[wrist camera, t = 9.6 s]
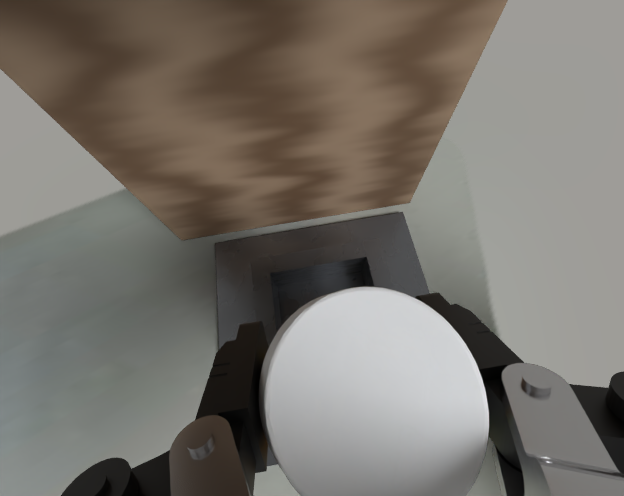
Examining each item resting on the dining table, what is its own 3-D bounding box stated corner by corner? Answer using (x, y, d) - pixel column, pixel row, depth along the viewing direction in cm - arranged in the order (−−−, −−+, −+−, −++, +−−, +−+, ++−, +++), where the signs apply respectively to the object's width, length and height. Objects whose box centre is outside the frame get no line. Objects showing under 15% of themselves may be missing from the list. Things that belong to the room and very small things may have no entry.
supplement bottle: (393, 467, 13) (550, 674, 4) (273, 432, 13) (172, 536, 5) (407, 339, 15) (532, 283, 6) (302, 315, 16) (272, 230, 7)
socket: (225, 472, 19) (202, 494, 15) (216, 245, 25) (198, 223, 22) (471, 426, 19) (504, 437, 16) (401, 214, 26) (414, 188, 22)
